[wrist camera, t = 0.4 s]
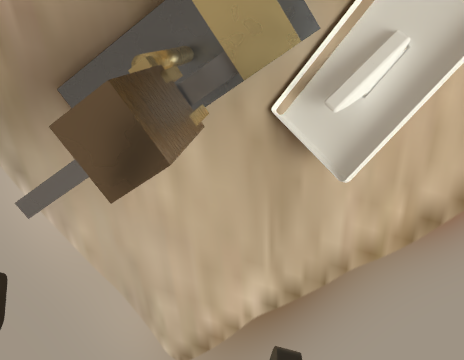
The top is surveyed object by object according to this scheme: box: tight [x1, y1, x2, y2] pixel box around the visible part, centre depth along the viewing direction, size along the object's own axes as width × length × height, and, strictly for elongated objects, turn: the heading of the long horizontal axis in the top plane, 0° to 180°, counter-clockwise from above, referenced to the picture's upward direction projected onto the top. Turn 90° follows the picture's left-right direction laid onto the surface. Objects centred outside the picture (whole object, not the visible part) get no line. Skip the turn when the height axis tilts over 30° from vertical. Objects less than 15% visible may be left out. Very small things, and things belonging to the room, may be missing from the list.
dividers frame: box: [15, 0, 301, 219], centre depth 25 cm, size 18×5×12 cm, turn 124°
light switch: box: [271, 0, 464, 183], centre depth 28 cm, size 8×5×14 cm
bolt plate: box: [57, 0, 320, 110], centre depth 31 cm, size 20×8×2 cm, turn 124°
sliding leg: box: [49, 46, 209, 203], centre depth 22 cm, size 3×5×17 cm, turn 34°
